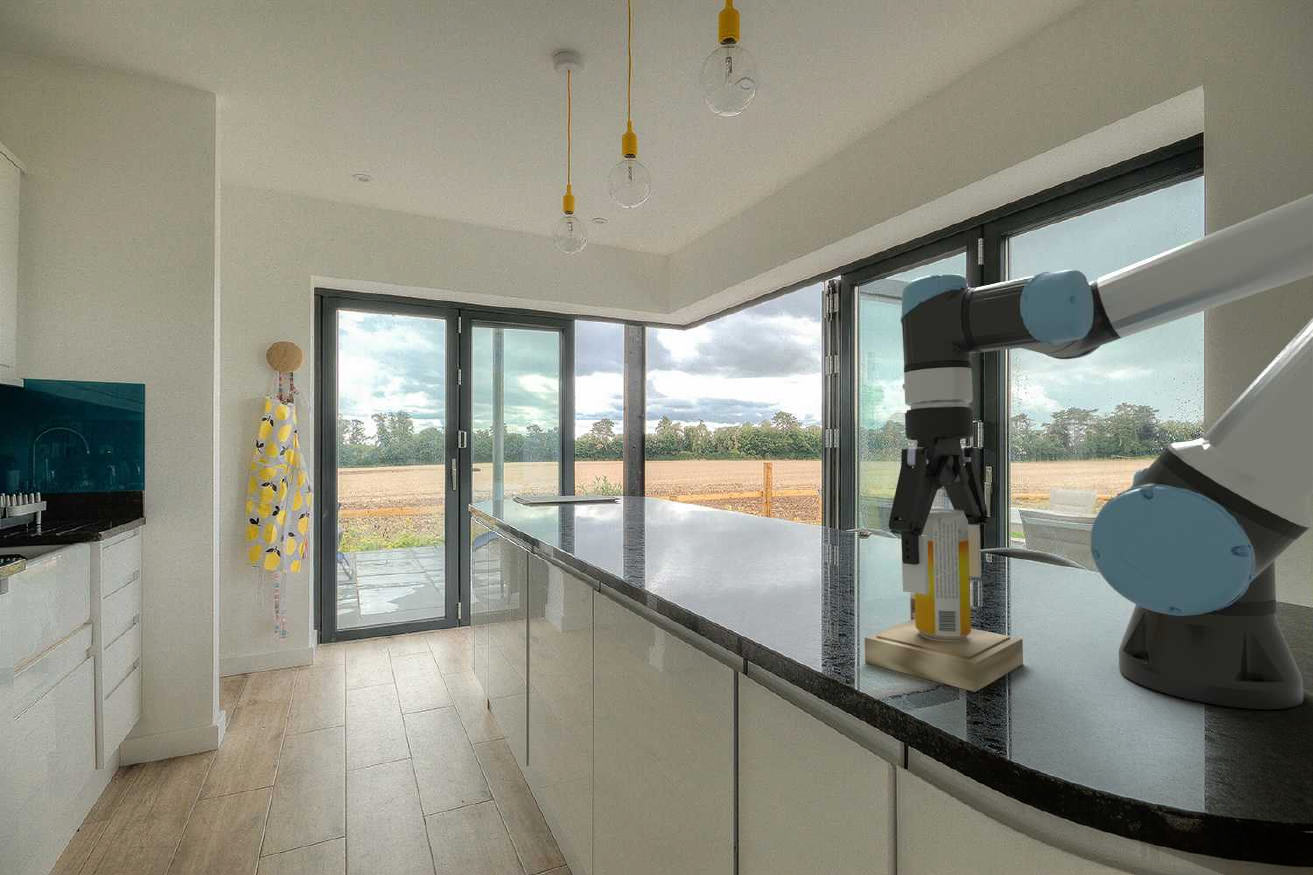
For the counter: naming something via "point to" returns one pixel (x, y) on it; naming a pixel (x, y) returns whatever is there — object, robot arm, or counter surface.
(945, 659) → the podium
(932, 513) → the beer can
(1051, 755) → the counter surface
